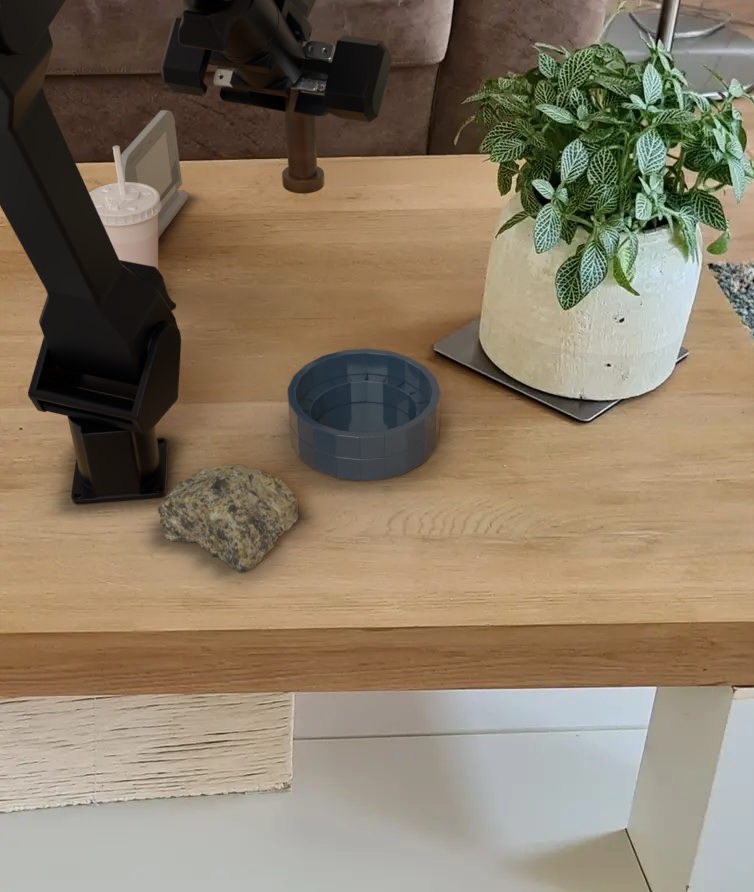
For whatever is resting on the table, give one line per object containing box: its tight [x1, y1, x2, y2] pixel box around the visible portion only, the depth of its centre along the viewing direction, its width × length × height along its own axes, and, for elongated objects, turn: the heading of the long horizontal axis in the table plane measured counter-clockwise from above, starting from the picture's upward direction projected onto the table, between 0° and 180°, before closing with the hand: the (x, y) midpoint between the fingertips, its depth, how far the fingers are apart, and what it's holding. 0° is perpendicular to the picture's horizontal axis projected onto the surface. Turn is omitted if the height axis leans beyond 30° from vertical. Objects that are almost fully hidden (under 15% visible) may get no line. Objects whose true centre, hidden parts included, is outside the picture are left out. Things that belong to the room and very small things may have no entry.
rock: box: [157, 463, 299, 574], centre depth 79 cm, size 7×8×4 cm
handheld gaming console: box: [121, 109, 190, 239], centre depth 112 cm, size 13×9×10 cm
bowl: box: [286, 348, 441, 482], centre depth 88 cm, size 11×11×4 cm
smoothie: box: [89, 145, 162, 271], centre depth 100 cm, size 6×6×14 cm
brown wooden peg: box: [281, 42, 325, 195], centre depth 103 cm, size 4×4×13 cm
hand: (306, 109), depth 104 cm, fingers closed on brown wooden peg, 2 cm apart
